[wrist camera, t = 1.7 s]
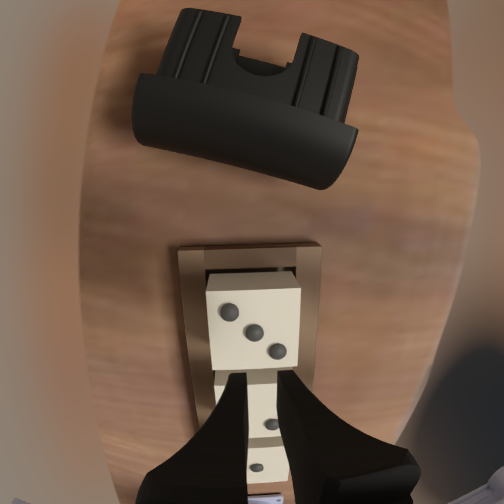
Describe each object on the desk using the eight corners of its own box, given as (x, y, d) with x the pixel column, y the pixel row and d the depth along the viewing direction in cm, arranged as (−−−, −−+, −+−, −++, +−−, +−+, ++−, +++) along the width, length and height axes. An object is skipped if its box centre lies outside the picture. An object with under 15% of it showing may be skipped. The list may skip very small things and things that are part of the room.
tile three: (289, 341, 21) (297, 368, 18) (215, 344, 21) (212, 372, 17) (291, 271, 20) (301, 289, 16) (209, 273, 19) (205, 292, 16)
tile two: (286, 408, 22) (292, 437, 19) (221, 411, 22) (220, 440, 19) (289, 356, 21) (296, 383, 18) (216, 359, 21) (213, 387, 18)
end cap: (155, 149, 19) (117, 138, 12) (186, 49, 17) (167, -1, 10) (308, 188, 20) (343, 195, 13) (335, 87, 18) (377, 54, 12)
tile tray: (300, 454, 25) (302, 462, 24) (207, 458, 25) (207, 467, 24) (317, 242, 20) (321, 246, 19) (180, 246, 20) (177, 251, 19)
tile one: (283, 455, 24) (287, 482, 21) (226, 458, 23) (226, 485, 20) (285, 419, 23) (291, 447, 19) (222, 422, 22) (221, 451, 19)
